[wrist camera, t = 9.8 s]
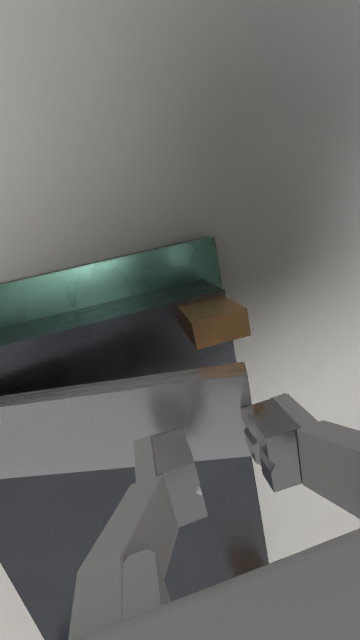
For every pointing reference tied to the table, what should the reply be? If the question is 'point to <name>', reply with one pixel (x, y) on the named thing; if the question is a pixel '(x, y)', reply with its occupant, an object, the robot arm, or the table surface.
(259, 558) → the dark piece
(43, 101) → the table surface
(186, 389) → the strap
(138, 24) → the table surface
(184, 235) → the table surface
